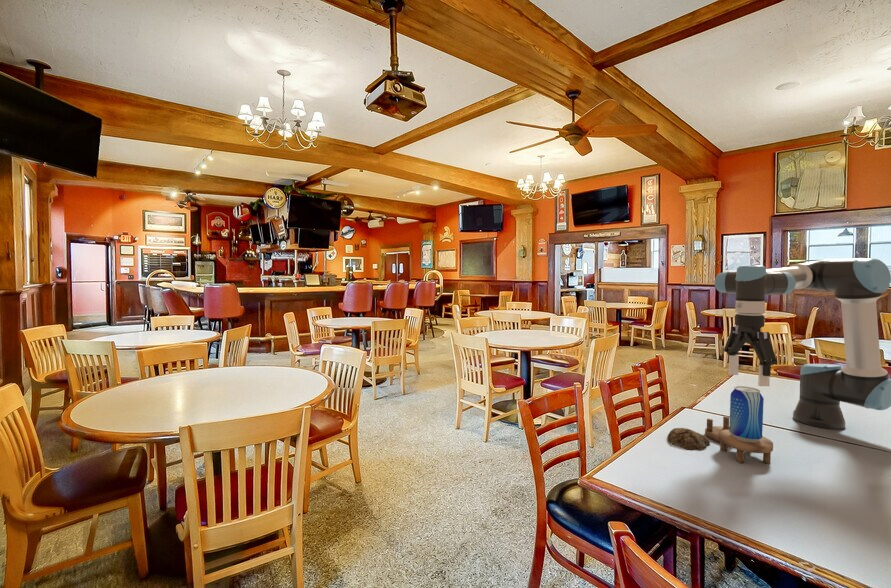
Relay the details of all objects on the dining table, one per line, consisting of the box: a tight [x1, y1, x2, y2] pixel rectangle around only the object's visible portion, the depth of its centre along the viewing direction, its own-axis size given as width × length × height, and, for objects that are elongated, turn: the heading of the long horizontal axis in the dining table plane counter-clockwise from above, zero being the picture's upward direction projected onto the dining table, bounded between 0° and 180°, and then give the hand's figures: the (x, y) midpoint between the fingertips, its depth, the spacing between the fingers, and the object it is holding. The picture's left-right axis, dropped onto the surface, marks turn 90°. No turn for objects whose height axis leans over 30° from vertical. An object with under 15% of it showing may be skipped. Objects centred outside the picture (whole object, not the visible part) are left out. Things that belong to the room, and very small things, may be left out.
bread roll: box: [667, 427, 711, 451], centre depth 138 cm, size 13×12×5 cm
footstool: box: [718, 430, 774, 465], centre depth 128 cm, size 14×14×6 cm
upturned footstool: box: [704, 415, 730, 444], centre depth 141 cm, size 14×14×6 cm
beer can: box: [729, 385, 764, 443], centre depth 127 cm, size 8×8×16 cm
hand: (747, 380), depth 127 cm, fingers open, 13 cm apart
